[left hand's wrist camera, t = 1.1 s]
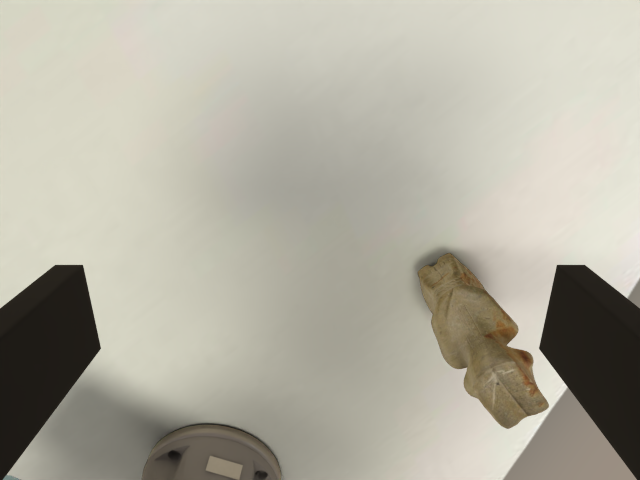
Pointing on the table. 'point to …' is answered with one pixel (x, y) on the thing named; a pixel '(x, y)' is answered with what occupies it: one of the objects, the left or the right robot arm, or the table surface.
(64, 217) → the table surface
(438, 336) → the sculpture
